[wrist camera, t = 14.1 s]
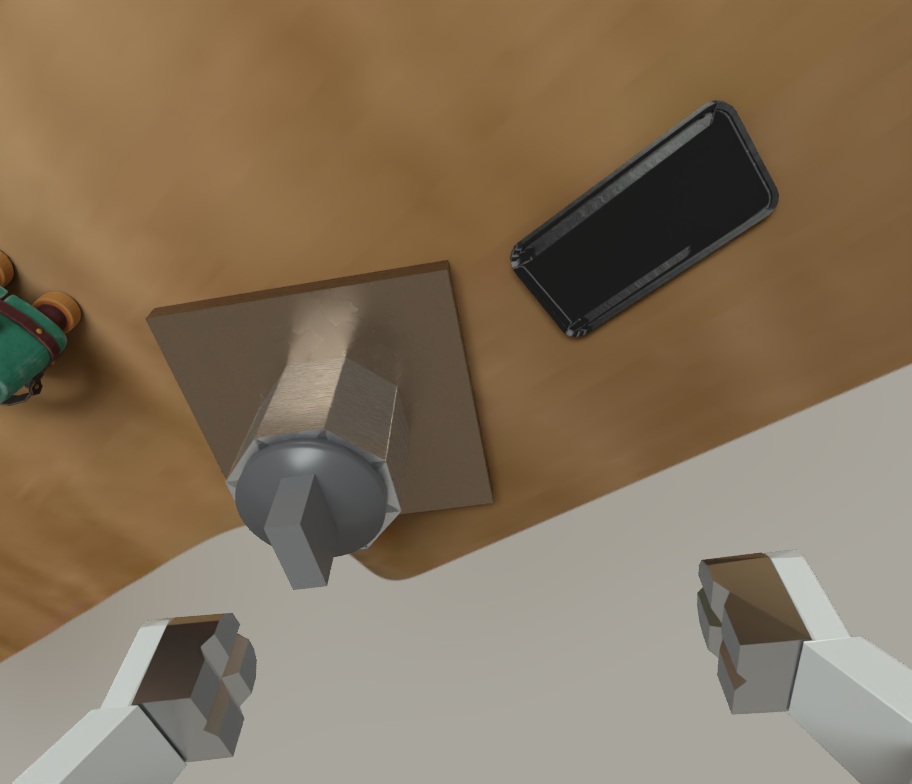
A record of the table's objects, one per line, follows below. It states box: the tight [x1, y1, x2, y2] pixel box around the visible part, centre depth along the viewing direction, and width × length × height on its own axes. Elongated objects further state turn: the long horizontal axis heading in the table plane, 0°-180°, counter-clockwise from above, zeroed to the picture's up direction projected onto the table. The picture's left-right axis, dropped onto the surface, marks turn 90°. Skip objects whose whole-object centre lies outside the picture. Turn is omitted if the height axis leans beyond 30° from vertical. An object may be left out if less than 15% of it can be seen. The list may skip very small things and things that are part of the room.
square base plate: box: [146, 260, 493, 549], centre depth 43 cm, size 20×20×10 cm
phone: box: [510, 100, 779, 337], centre depth 39 cm, size 8×1×15 cm
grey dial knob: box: [235, 438, 387, 590], centre depth 38 cm, size 9×9×7 cm
